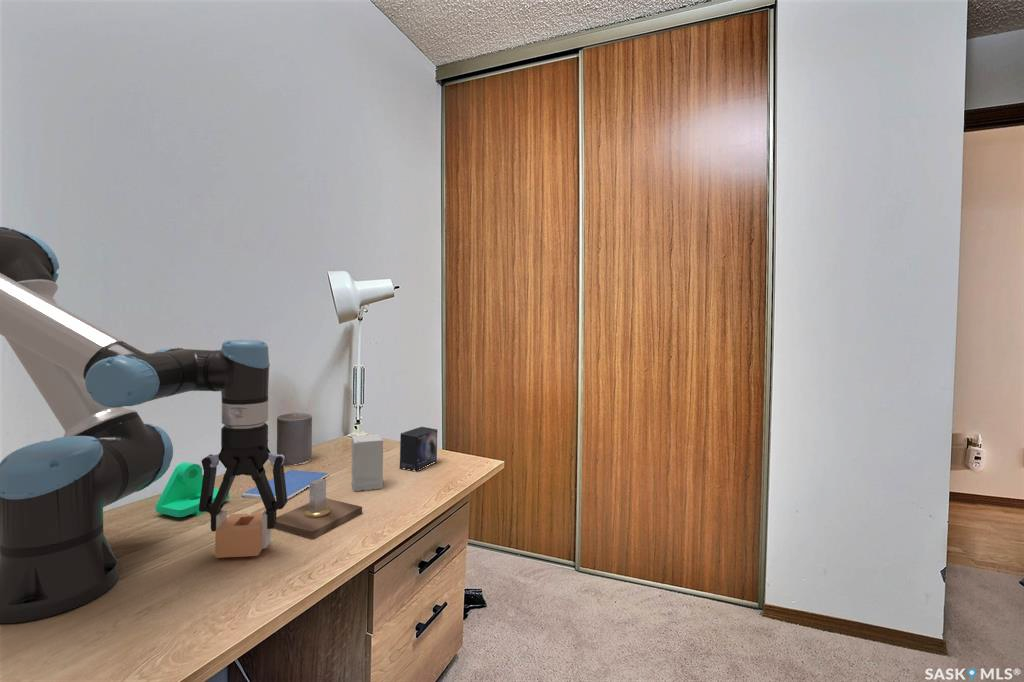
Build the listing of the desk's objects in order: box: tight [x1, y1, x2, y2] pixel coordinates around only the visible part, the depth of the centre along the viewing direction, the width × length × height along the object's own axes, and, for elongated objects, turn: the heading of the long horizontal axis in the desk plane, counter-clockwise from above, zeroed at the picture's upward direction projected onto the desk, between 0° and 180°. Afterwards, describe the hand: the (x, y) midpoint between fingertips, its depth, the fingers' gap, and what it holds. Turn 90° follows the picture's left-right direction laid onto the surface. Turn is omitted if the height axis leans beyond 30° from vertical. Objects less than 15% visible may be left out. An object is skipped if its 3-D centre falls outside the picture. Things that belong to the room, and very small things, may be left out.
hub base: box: [273, 478, 363, 540], centre depth 103 cm, size 14×12×8 cm
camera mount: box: [155, 461, 230, 518], centre depth 107 cm, size 12×8×10 cm, turn 160°
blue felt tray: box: [241, 469, 330, 501], centre depth 123 cm, size 19×13×1 cm, turn 170°
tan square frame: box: [214, 512, 263, 559], centre depth 88 cm, size 7×7×5 cm
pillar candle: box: [276, 411, 313, 465], centre depth 143 cm, size 10×10×15 cm
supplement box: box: [351, 433, 384, 492], centre depth 124 cm, size 7×7×13 cm
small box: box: [399, 426, 438, 472], centre depth 141 cm, size 11×6×10 cm, turn 154°
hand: (243, 545), depth 89 cm, fingers closed on tan square frame, 7 cm apart
